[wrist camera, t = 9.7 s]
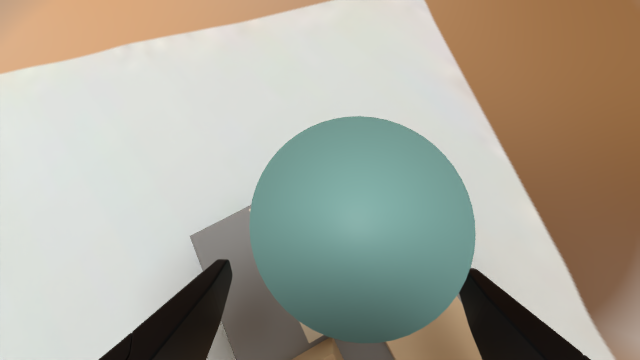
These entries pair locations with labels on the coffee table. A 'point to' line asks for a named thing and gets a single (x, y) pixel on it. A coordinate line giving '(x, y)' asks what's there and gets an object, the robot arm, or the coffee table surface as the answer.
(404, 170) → the teal column
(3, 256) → the coffee table surface
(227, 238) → the base board
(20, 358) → the coffee table surface
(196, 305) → the robot arm
